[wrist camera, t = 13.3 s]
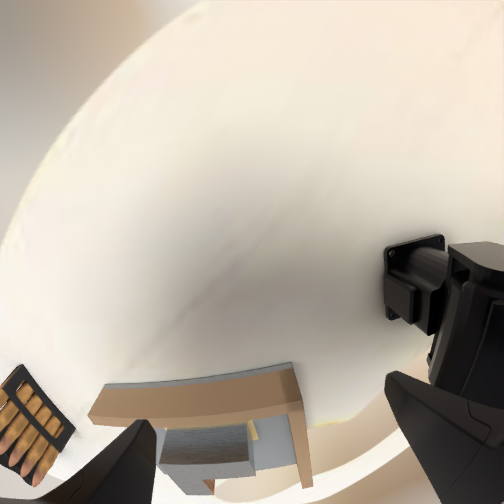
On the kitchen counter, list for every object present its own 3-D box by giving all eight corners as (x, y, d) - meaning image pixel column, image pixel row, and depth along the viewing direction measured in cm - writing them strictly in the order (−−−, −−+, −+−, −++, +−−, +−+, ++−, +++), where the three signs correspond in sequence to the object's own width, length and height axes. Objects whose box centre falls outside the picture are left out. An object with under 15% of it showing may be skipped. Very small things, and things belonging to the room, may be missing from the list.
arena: (291, 362, 22) (302, 399, 17) (305, 456, 25) (313, 486, 21) (105, 383, 21) (87, 415, 17) (165, 469, 25) (160, 497, 20)
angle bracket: (259, 456, 24) (262, 491, 19) (190, 461, 24) (186, 495, 19) (246, 420, 22) (248, 460, 17) (167, 426, 22) (158, 464, 17)
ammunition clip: (76, 428, 23) (43, 493, 12) (69, 429, 23) (36, 490, 12) (22, 363, 21) (-31, 421, 9) (17, 366, 21) (-34, 420, 9)
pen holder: (42, 445, 25) (21, 483, 15) (3, 404, 23) (-25, 439, 13) (66, 441, 24) (42, 488, 14) (20, 394, 22) (-14, 437, 12)
